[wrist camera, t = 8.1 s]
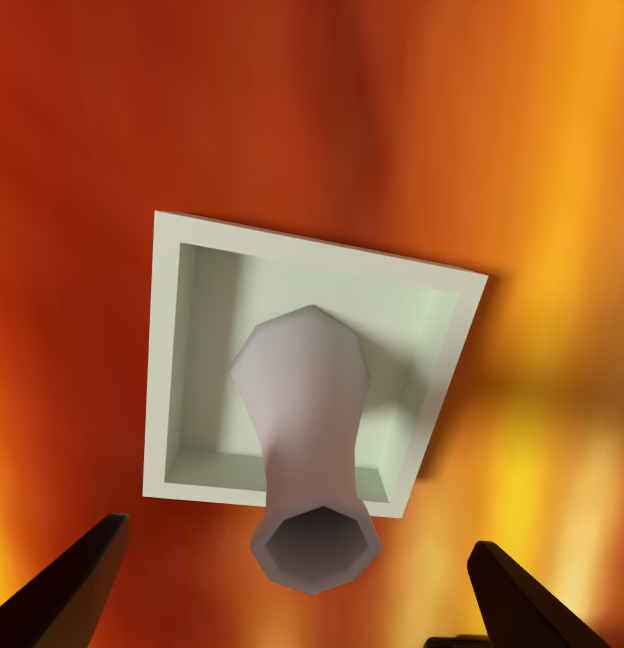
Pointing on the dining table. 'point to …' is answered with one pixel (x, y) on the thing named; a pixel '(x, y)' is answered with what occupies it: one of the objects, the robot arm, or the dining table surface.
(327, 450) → the flask
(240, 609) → the dining table surface
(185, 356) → the tray
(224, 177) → the dining table surface
